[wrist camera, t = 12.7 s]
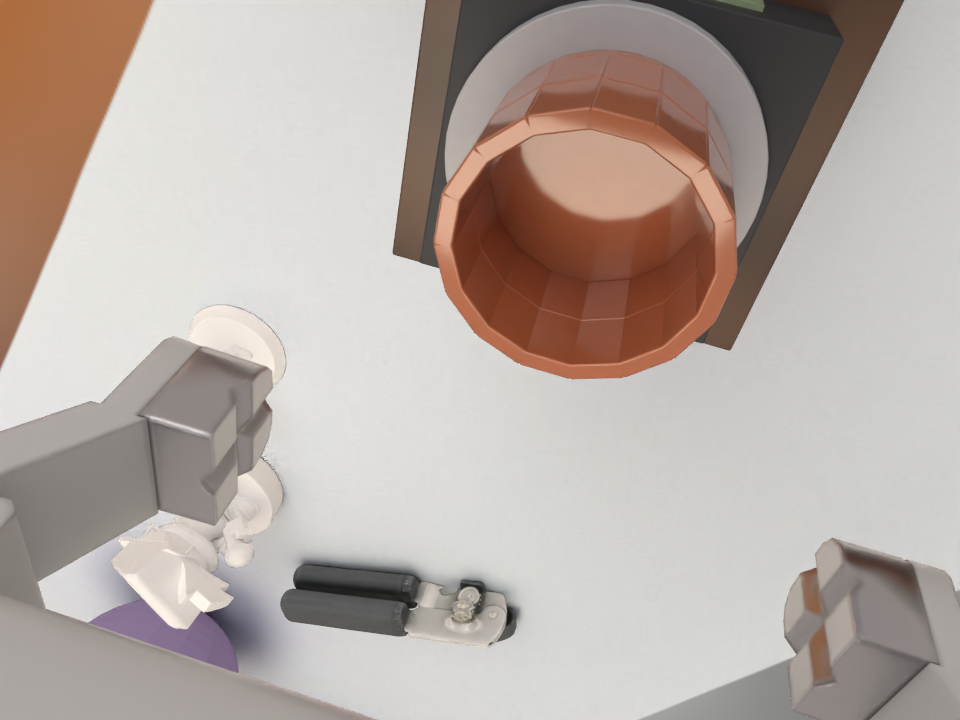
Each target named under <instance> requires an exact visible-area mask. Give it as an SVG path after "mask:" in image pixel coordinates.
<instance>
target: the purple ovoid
mask: <svg viewBox="0 0 960 720" xmlns="http://www.w3.org/2000/svg"><path fill="white" fill-rule="evenodd" d="M89 624H92V625H95V626H98V627H101V628H104V629H107V630H110V631H113V632H116V633H119V634H122V635H125V636H128V637H131V638H134V639H137V640H140V641H143V642H146V643H149V644H152V645H155V646H158V647H161V648H164V649H167V650H170V651H173V652H176V653H179V654H182V655H185V656H188V657H191V658H194V659H197V660H200V661H203V662H206V663H209V664H212V665H215V666H218V667H221V668H224V669H227V670H230V671H233V672H236V673H239V672H238V663H237V658H236V654H235V651H234V649H233V647H232V645H231V643H230V641H229V639H228V638H227V636H226V634H225V633H224V631H223V630H222V629H221V627H220V626H219V625H218V624H217V623H216V622H215V621H214V620H213V619H212V618H211V617H209V616H208V615H206V614H205V613H203V612H202V611H201V612H200V613H199V614H198V616H197V617H196V619H195V620H194V621H193V623H192V624H191V625H190V627H189V628H188V629H180V628H179V629H176V628H173V627H171V626H169V625H168V624H167V623H166V622H165V621H164V620H163V619H162V618H161V617H160V616H159V615H158V614H157V613H156V612H155V611H154V610H153V609H152V608H151V607H150V605H149V604H148V603H147V602H146V601H145V600H142V601H137V602H132V603H128V604H125V605H122V606H119V607H116V608H114V609H112V610H110V611H108V612H106V613H103V614H101V615H100V616H98V617H97V618H95V619H93V620H92V621H90V622H89Z"/></svg>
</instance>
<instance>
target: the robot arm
mask: <svg viewBox="0 0 960 720" xmlns="http://www.w3.org/2000/svg"><path fill="white" fill-rule="evenodd" d="M272 388H273V381H272V370H271V369H269V368H268V367H267V366H264V365H261V364H258V363H254V362H251V361H248V360H245V359H242V358H239V357H236V356H233V355H230V354H227V353H224V352H221V351H218V350H215V349H212V348H209V347H206V346H205V347H203V346H200V345H197V344H194V343H192V342H189V341H186V340H183V339H180V338H177V337H174V336H173V337H170V338H168V339H165V340H163V341H162V342H161V343H160V344H159V345H158V346H157V347H156V348H155V349H154V350H153V351H152V352H151V353H150V354H149V355H148V356H147V357H146V358H145V359H144V360H143V361H142V362H141V363H140V364H139V365H138V366H137V367H136V368H135V369H134V370H133V371H132V372H131V373H130V374H129V375H128V376H127V377H126V378H125V379H124V380H123V381H122V382H121V383H120V384H119V385H118V386H117V388H116V389H115V390H114V391H113V392H112V393H111V394H110V395H109V396H108V397H107V398H106V399H105V400H104V401H103V402H102V403H101V404H99V403H95V402H92V401H89V402H86V403H83V404H81V405H78V406H75V407H72V408H69V409H66V410H63V411H60V412H57V413H54V414H51V415H48V416H45V417H42V418H39V419H36V420H33V421H30V422H27V423H24V424H21V425H18V426H15V427H12V428H9V429H6V430H3V431H0V720H377V719H374V718H371V717H368V716H365V715H362V714H359V713H356V712H353V711H350V710H347V709H344V708H341V707H338V706H335V705H332V704H329V703H326V702H323V701H320V700H317V699H314V698H311V697H308V696H305V695H302V694H299V693H296V692H293V691H290V690H287V689H284V688H281V687H278V686H275V685H272V684H269V683H266V682H263V681H260V680H257V679H254V678H251V677H248V676H245V675H242V674H239V673H236V672H233V671H230V670H227V669H224V668H221V667H218V666H215V665H212V664H209V663H206V662H203V661H200V660H197V659H194V658H191V657H188V656H185V655H182V654H179V653H176V652H173V651H170V650H167V649H164V648H161V647H158V646H155V645H152V644H149V643H146V642H143V641H140V640H137V639H134V638H131V637H128V636H125V635H122V634H119V633H116V632H113V631H110V630H107V629H104V628H101V627H98V626H95V625H92V624H89V623H86V622H83V621H80V620H77V619H74V618H71V617H68V616H65V615H62V614H59V613H56V612H53V611H50V610H47V609H46V607H45V604H44V601H43V598H42V595H41V591H40V588H39V585H38V581H40V580H42V579H43V578H45V577H47V576H49V575H50V574H52V573H54V572H56V571H57V570H59V569H61V568H63V567H64V566H66V565H68V564H70V563H71V562H73V561H75V560H77V559H78V558H80V557H82V556H84V555H85V554H87V553H89V552H91V551H93V550H94V549H96V548H98V547H100V546H101V545H103V544H105V543H107V542H108V541H110V540H112V539H114V538H115V537H117V536H119V535H121V534H122V533H124V532H126V531H128V530H129V529H131V528H133V527H135V526H136V525H138V524H140V523H142V522H143V521H145V520H147V519H149V518H150V517H152V516H154V515H156V514H158V510H161V511H165V512H168V513H172V514H175V515H179V516H182V517H186V518H189V519H192V520H196V521H199V522H203V523H206V524H210V525H213V526H215V525H216V524H217V522H218V521H219V519H220V518H221V516H222V515H223V513H224V512H225V510H226V509H227V507H228V506H229V505H230V503H231V502H232V500H233V499H234V497H235V496H236V494H237V493H238V476H240V475H243V474H245V473H247V472H249V471H251V470H253V468H254V467H255V465H256V464H257V462H258V460H259V459H260V457H261V456H262V453H263V451H264V448H265V446H266V443H267V441H268V439H269V435H270V430H271V425H272V410H271V408H270V407H269V405H268V404H267V402H266V401H265V398H266V397H267V396H268V394H269V393H270V391H271V390H272ZM815 557H816V565H817V568H814V569H811V570H808V571H805V572H802V573H800V575H799V576H798V578H797V579H796V581H795V582H794V584H793V585H792V587H791V588H790V591H789V594H788V597H787V600H786V604H785V609H784V620H783V622H784V635H785V638H786V640H787V641H788V643H789V644H790V646H791V647H792V648H793V650H794V651H795V653H796V654H797V655H796V656H795V657H794V658H793V660H792V661H791V662H790V663H789V665H788V666H787V668H788V678H789V688H790V697H791V708H792V711H794V712H797V713H799V714H802V715H805V716H808V717H811V718H814V719H817V720H960V604H959V601H958V598H957V595H956V592H955V588H954V585H953V582H952V580H951V578H950V576H949V575H948V574H947V573H946V572H945V571H944V570H941V569H937V568H934V567H931V566H927V565H924V564H920V563H917V562H913V561H910V560H903V559H902V558H899V557H896V556H892V555H889V554H885V553H882V552H879V551H875V550H872V549H868V548H865V547H862V546H858V545H855V544H851V543H848V542H845V541H841V540H838V539H834V538H831V539H829V540H828V541H826V542H824V543H823V544H822V546H821V547H820V548H819V549H818V551H817V552H816V553H815Z"/></svg>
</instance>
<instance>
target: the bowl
mask: <svg viewBox="0 0 960 720" xmlns="http://www.w3.org/2000/svg"><path fill="white" fill-rule="evenodd" d="M433 242H434V249H435V253H436V257H437V261H438V265H439V268H440V272H441V276H442V280H443V284H444V288H445V292H446V293H447V296H448V297H449V298H450V300H451V301H452V302H453V304H454V305H455V307H456V308H457V309H458V311H459V312H460V313H461V315H462V316H463V317H464V319H465V320H466V322H467V323H468V324H469V326H470V327H471V328H472V330H473V331H474V333H475V334H477V335H478V336H479V337H480V338H482V339H483V340H484V341H486V342H487V343H489V344H490V345H492V346H493V347H495V348H496V349H498V350H499V351H501V352H502V353H503V354H505V355H506V356H508V357H509V358H511V359H512V360H514V361H515V362H517V363H520V364H521V365H524V366H527V367H530V368H534V369H537V370H541V371H544V372H547V373H551V374H554V375H558V376H561V377H565V378H571V379H596V378H622V377H623V376H624V377H627V376H630V375H632V374H635V373H638V372H640V371H643V370H646V369H648V368H651V367H654V366H657V365H659V364H662V363H665V362H667V361H670V360H672V359H673V358H676V357H677V356H678V355H679V354H680V353H681V352H682V351H684V350H685V349H686V348H687V347H688V346H689V345H690V344H692V343H693V342H694V341H695V340H696V339H697V338H698V337H700V336H701V335H702V334H703V333H704V332H705V331H706V330H708V329H709V328H710V327H711V326H712V325H713V323H714V322H715V321H716V319H717V317H718V315H719V313H720V311H721V308H722V306H723V304H724V302H725V300H726V298H727V296H728V293H729V291H730V289H731V287H732V285H733V283H734V281H735V278H736V274H737V221H736V209H735V198H734V187H733V176H732V165H731V154H730V149H729V145H728V143H727V141H726V137H725V133H724V131H723V128H722V126H721V123H720V121H719V118H718V116H717V115H716V113H715V111H714V110H713V108H712V106H711V105H710V103H709V102H708V100H707V99H706V98H705V97H704V95H703V94H702V93H701V92H700V90H699V89H698V88H697V87H695V86H694V85H693V84H692V83H691V82H690V81H689V80H688V79H687V78H686V77H684V76H683V75H681V74H680V73H679V72H677V71H676V70H674V69H673V68H671V67H669V66H667V65H665V64H663V63H661V62H659V61H657V60H655V59H652V58H649V57H647V56H644V55H641V54H637V53H632V52H627V51H621V50H604V49H601V50H590V51H582V52H578V53H573V54H569V55H565V56H563V57H560V58H557V59H555V60H552V61H550V62H548V63H546V64H544V65H542V66H540V67H538V68H537V69H535V70H534V71H532V72H531V73H529V74H528V75H527V76H525V77H524V78H523V79H521V80H520V81H519V82H518V83H517V84H516V85H515V86H513V87H512V88H511V90H509V91H508V92H507V94H506V95H505V97H504V98H503V100H502V101H501V102H500V103H499V105H498V107H497V108H496V110H495V111H494V113H493V114H492V115H491V117H490V118H489V120H488V121H487V123H486V124H485V126H484V127H483V129H482V130H481V132H480V133H479V135H478V136H477V138H476V139H475V141H474V143H473V144H472V146H471V147H470V149H469V150H468V152H467V153H466V155H465V157H464V158H463V160H462V161H461V163H460V164H459V166H458V167H457V169H456V171H455V172H454V174H453V175H452V177H451V178H450V180H449V181H448V183H447V185H446V186H445V188H444V189H443V192H442V194H441V199H440V205H439V211H438V217H437V223H436V229H435V235H434V241H433Z"/></svg>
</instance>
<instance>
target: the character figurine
mask: <svg viewBox="0 0 960 720" xmlns="http://www.w3.org/2000/svg"><path fill="white" fill-rule="evenodd" d="M282 501H283V490H282V485H281V483H280V481H279V478H278V477H277V475H276V474H275V472H274V471H273V469H272V468H271V467H270V466H269V465H268V464H267V463H266V462H265V461H264V460H263V459H262V458H261V457H260V459H259V460H258V462H257V464H256V465H255V467H254V468H253V470H251V471H249V472H247V473H245V474H243V475H240V476H238V493H237V494H236V496H235V497H234V499H233V500H232V502H231V503H230V505H229V506H228V507H227V509H226V510H225V512H224V513H223V515H222V516H221V518H220V519H219V521H218V522H217V524H216V525H215V526H213V525H210V524H206V523H203V522H199V521H196V520H192V519H189V518H186V517H182V516H179V515H175V517H174V524H166V525H163V526H161V527H160V528H159V529H158V528H156V527H155V526H154V525H153V524H150V526H149V527H148V528H147V530H146V531H145V533H144V534H143V535H142V537H141V538H134V537H123V536H122V537H121V538H120V539H119V543H120V544H121V545H122V546H123V547H124V548H123V549H122V550H121V551H120V552H119V553H118V554H117V555H116V556H115V557H114V558H113V559H112V560H111V563H112V565H113V567H114V568H115V569H116V570H117V571H118V572H119V573H120V574H121V575H122V576H123V577H124V578H125V580H126V582H127V583H128V584H129V585H130V586H131V587H132V588H133V589H134V590H135V591H136V592H137V593H138V594H139V595H140V596H141V597H142V598H143V599H144V600H145V601H146V602H147V603H148V604H149V605H150V607H151V608H152V609H153V610H154V611H155V612H156V613H157V614H158V615H159V616H160V617H161V618H162V619H163V620H164V621H165V622H166V623H167V624H168V625H169V626H171V627H173V628H176V629H179V628H180V629H188V628H189V627H190V625H191V624H192V623H193V621H194V620H195V619H196V617H197V616H198V614H199V613H200V612H201V611H202V612H203V613H204V612H210V611H214V610H217V609H221V608H223V607H227V605H228V604H229V603H230V602H231V601H232V600H233V599H234V597H233V596H230V595H228V594H227V593H225V592H224V591H225V590H226V589H227V588H228V587H229V584H228V583H226V582H224V581H222V580H220V579H218V578H217V577H215V576H214V575H212V574H211V573H212V572H213V571H214V570H215V569H216V568H217V566H218V555H217V553H219V552H220V553H222V554H223V556H225V562H226V564H227V565H228V566H230V567H232V568H241V567H243V566H246V565H247V564H248V563H250V562H251V560H252V559H253V557H254V549H253V547H252V546H251V545H249V544H247V543H248V542H250V541H252V539H251V535H254V534H257V533H260V532H262V531H264V530H265V529H266V528H267V527H268V526H269V525H270V523H271V522H272V520H273V518H274V516H275V515H276V513H277V511H278V510H279V508H280V506H281V504H282ZM219 549H220V550H219Z"/></svg>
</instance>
